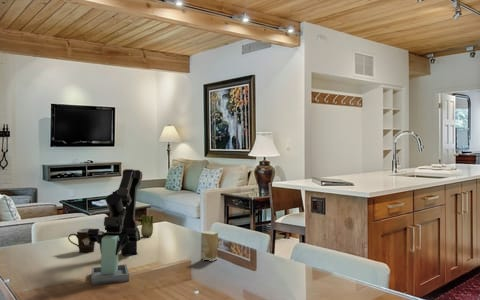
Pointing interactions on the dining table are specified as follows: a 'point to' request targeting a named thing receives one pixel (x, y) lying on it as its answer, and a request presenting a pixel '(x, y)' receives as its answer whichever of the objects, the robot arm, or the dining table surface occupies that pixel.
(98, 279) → the box
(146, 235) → the fennel bulb
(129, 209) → the robot arm
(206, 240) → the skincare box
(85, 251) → the coffee mug
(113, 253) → the teal block
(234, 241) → the dining table surface
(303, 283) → the dining table surface
